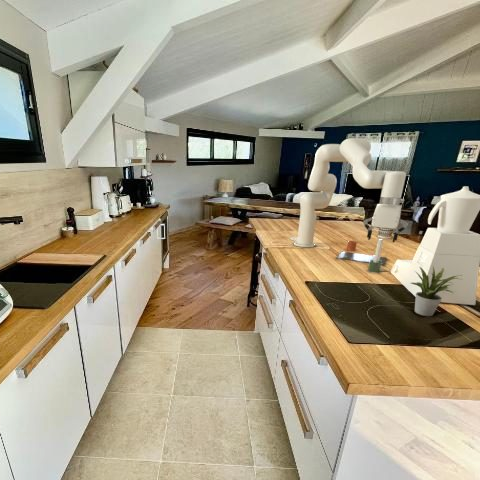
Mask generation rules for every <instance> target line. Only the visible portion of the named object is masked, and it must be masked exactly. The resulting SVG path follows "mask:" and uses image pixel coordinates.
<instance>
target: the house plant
mask: <svg viewBox="0 0 480 480" xmlns="http://www.w3.org/2000/svg"><path fill="white" fill-rule="evenodd" d="M420 269H421V272H422V276H423V279H422V277H421V276H420V275H419V274H418V273H417V272H416V273H417V274H418V276H419V277H420V279H421V280H422V283H420V282H417V283H410V284H414V285H417V286H419V287H420V288H421V290H422V292H417V293H416V297H415V299H414V300H415V301H414V312H415V313H416V314H418V315H420V316H425V317H433V316H434V314H435V312H436V310H437V308H438V307H439V305H440V303H441V302H440V301H441V300H442V298H441V297H440V296H438V295H436V293H438V292H439V291H443V289H444V290H445V289H447V288H448V287H447V286H449V285H444V284H445V283H446V282H447V283H452V282H448V281H450V280H452V279H459V278H454V277H457V276H462V275H456V276H452V277H449V278H447V279H443V280H440V278H441V277H442V274H443V272H444V267H443V269H442V270H441V271H440V272H439V273H438V274H437V275H436V276H435V270H434V267H433V273H431V274H432V280H431V285H430V287H429V277H428V275H426V273H425V271H424V270H423V269H422V268H421V267H420ZM462 280H463V279H462ZM439 281H442V282H441V283H439V284H437V283H438V282H439ZM436 284H437V285H436ZM442 285H443V286H442ZM441 286H442V287H441ZM436 288H437V289H436ZM435 289H436V290H435ZM449 289H450V288H449ZM445 291H447V292H448V291H449V292H451V293H453V292H455V291H453V292H452V291H450V290H445ZM439 295H440V294H439Z"/></svg>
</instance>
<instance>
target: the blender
mask: <svg viewBox="0 0 480 480" xmlns="http://www.w3.org/2000/svg"><path fill="white" fill-rule="evenodd" d="M439 200H440V201H438V202H437V203H436V204H435V205H434V207H432V210H431V211H430V213H429V215H428V216H427V217H428V218H427V224H428V225H431V224H432V221H433V220H434V218H435V216H436V214H437V212H438V218H437V227H427V229H426V231H425V233H424V236H423V237H422V240H421V242H420V244H419V245H418V248H417V249H416V252H415V253H414V255H413V258H412V259H396V261H395V262H394V264H393V266H392V267H391V269H390V271H389V272H390V273H391V274H392V276H393V277H394V278H395V279H397V280H398V282H400V284H401V285H402V286H404V288H406V289H407V290H408V292H409V293H411V294H412V295H413V296H414V297H415V298H416V293H417V292H422V290H421V288H420V287H419V286H417V285H414V284H410V283H417V282H420V283H422V280H421V279H420V277H419V276H418V274H419V275H420V276H421V277H422V279H423V276H422V272H421V269H420V267H421V268H422V269H423V270H424V271H425V273H426V275H428V277H429V287H430V285H431V280H432V274H431V273H433V267H434V270H435V276H436V275H437V274H438V273H439V272H440V271H441V270H442V269H443V267H444V272H443V274H442V277H441V278H440V280H443V279H447V278H449V277H452V276H456V275H462V276H457V277H454V278H459V279H452V280H450V281H448V282H452V283H447V282H446V283H445V284H444V285H449V286H447V287H448V288H447V289H445V290H450V291H452V292H453V291H455V292H453V293H451V292H449V291H448V292H447V291H445V290H444V289H443V291H439V292H438V293H436V295H438V296H440V297H441V298H442V300H441V301H440V303H446V304H457V305H469V306H476V304H477V303H476V301H477V292H478V284H479V275H480V234H479V233H477V232H474V231H471V230H470V229H471V227H472V225H473V223H474V221H475V220H476V218H477V216H478V214H479V212H480V194H478V193H475V192H473V191H471V190H470V188H469V186H466V185H465V186H462V188H461V189H460V190H456V191H454V192H449V193H445V194H442V195H440V199H439ZM416 272H417V273H418V274H417V273H416ZM462 279H463V280H462ZM441 282H442V281H439V282H438V283H437V284H439V283H441ZM437 284H436V285H437ZM442 286H443V285H442ZM442 286H441V287H442ZM449 288H450V289H449ZM436 289H437V288H436ZM436 289H435V290H436ZM439 294H440V295H439Z"/></svg>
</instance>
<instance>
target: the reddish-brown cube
mask: <svg viewBox="0 0 480 480" xmlns="http://www.w3.org/2000/svg"><path fill="white" fill-rule="evenodd" d="M357 243H358V242H357V241H355V240H348V241H347V244H346V251H348V252H355V251H356V248H357Z"/></svg>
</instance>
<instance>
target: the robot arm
mask: <svg viewBox="0 0 480 480" xmlns="http://www.w3.org/2000/svg"><path fill="white" fill-rule="evenodd" d="M371 149H372V145H371V142H370V141H369V139H367V138H364V137H363V138H359V137H358V138H357V137H350V138H347V139H344V140H343V141H342V142H341V143H340V144H339V143H326V144H322V145H321V146H320V147H318V149H317V150H316V152H315V157H314V162H313V167H312V169H311V173H310V175H309V179H308V183H307V188H308V190H309V191H310V192H306V193H304V194H302V196H301V197H300V199H299V205H300V212H299V221H298V230H297V236H295V237H294V236H290V241H292V242H293V245H294V246H296V247H299V248H314V247H316V243H315V242H314V238H315V231H316V224H317V212H316V210H319V209H320V210H321V209H322V210H323V209H325V208H328V207H329V205H330V203H331V201H332V198H333V196H334V193H335V190H336V188H337V183H338V181H337V177H336V175H334V174H333V173H329V171H330V169H331V168H330V165H331V164H330V163H331V162H333V163H344V162H345V163H346V162H348V163H349V164H350V165H351V167H352V172H351V173H352V177H353V179H354V181H355V182H356V183H357V184H358V185H359V186H360V187H361V188H363V189H367V190H368V189H381V193H380V198H379V202H378V203H377V204H376V207H375V209H374V212H373V215H372V217H368V218H366V219H364V220H363V221H362V223H363V226H364V227H365V229H366V230H367V236H366V238H367V240H368V241H370V240H371V238H372V235H373V230H374V228H377V229H380V228H389V229H393V231H394V233H393V238H392V243H395V241H398V237H399V234H400V233H401V232H404V230H405V229H406V228H407V227H408V226H409V223H408V222H406V221H404V220H403V219H401V213H402V205H401V204H402V203H404V202H405V199H403V198H402V194H403V191H404V186H405V181H406V177H407V173H406V172H405V171H402V170H400V171H399V170H393V171H391V170H371V169H370V168H368V167H367V166H368V165H369V164H370V162H371V160H372V154H371V153H370V152H371ZM311 191H312V192H311ZM368 222H371V226H370V225H369V224H368ZM399 224H401V225H402V227H400V228H399Z"/></svg>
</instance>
